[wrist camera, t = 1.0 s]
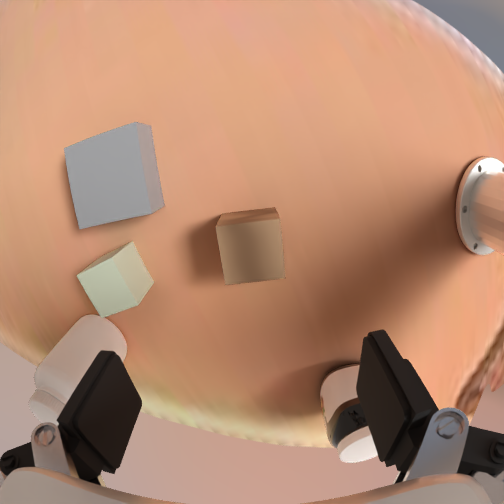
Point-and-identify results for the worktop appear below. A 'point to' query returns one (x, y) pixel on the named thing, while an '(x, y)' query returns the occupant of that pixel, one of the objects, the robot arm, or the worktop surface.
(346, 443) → the spread jar
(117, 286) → the sage cube
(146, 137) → the base block
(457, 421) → the robot arm
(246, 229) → the walnut cube
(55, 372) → the pill bottle
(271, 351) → the worktop surface
